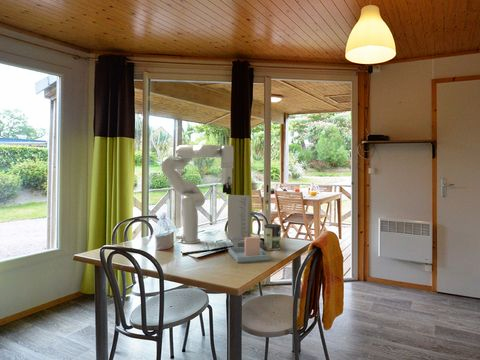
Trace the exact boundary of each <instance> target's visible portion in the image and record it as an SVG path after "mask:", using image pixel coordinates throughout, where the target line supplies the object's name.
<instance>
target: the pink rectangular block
mask: <svg viewBox="0 0 480 360" xmlns="http://www.w3.org/2000/svg"><path fill="white" fill-rule="evenodd" d="M260 240H261V238H260V236H250V237H245V251H244V255H245V256H256V255H260Z"/></svg>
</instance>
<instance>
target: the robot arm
mask: <svg viewBox="0 0 480 360" xmlns="http://www.w3.org/2000/svg"><path fill="white" fill-rule="evenodd" d="M175 154H176V156H166V157H164V158H163V159H162V161H161V165H160V166H161V172H162V174H163V176H165V178H166V179H167V180H168V182H169V183H170V185H171V186H172V187H173V189H174V191H175V192H176V193H177V195H178V196H183V197H182V199H181V206H182V219H183V221H182V222H183V223H182V227H183V228H182V235H177V236H175V239H176V240H180V243H182V244H188V245H192V244H193V245H194V244H199V243H201V239H200V238H198V237H199V235H198V234H199V232H198V231H199V216H198V215H199V214H198V211H197V210H198V209H197V208H200V207H202V206H204V204H205V199H206V198H205V196H204V194H203V192H202V191H201V190H200V188H199V187H198V185H197V184H196V183H195V182H194V181H192V180H185V179H184V178H183V177H182V175H181V174H180V173H179V172H178V171H177V170H181V169H183V168H185V167H186V166H187V165H188V164H189V162H190V161H192V159H199V158H220V159H221V161H220V168H221V176H220V177H221V179H220V180H221V181H220V183H221V184H222V193H223V194H226V195H232V184H233V169H234V146H233V145H217V144H180V145H178V146H177V147H176V148H175Z"/></svg>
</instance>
